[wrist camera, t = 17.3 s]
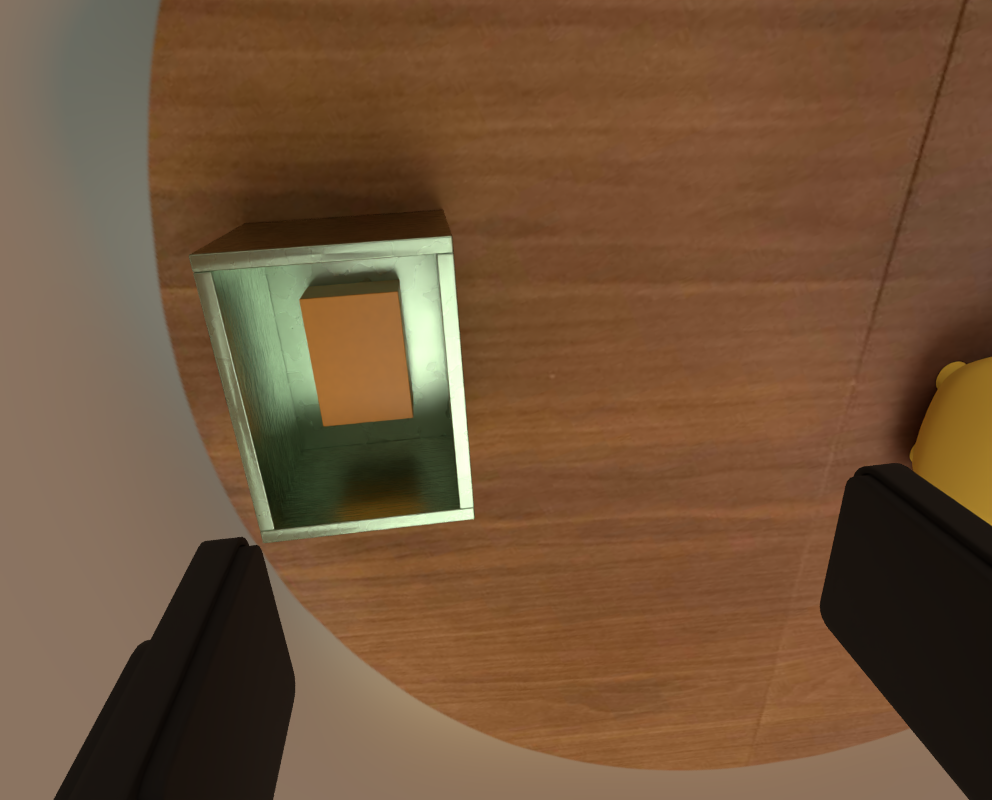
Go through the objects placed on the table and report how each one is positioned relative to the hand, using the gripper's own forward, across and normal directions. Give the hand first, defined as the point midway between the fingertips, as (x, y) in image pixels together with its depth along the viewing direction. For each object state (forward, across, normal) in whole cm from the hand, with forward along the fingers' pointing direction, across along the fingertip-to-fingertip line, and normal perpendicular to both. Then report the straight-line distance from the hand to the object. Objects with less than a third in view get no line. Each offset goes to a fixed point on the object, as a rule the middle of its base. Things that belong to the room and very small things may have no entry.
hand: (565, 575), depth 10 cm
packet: (+30, +6, +6) cm, 31 cm away
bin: (+30, +6, +6) cm, 31 cm away
